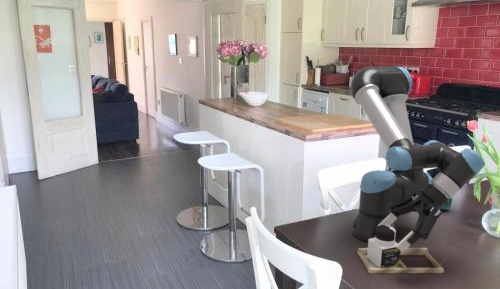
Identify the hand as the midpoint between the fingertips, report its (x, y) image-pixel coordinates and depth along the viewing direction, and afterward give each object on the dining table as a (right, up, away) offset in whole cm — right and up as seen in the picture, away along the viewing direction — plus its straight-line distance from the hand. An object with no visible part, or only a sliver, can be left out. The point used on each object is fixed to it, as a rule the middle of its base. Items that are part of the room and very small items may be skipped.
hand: (388, 238), depth 124 cm
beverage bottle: (+39, +1, +46) cm, 61 cm away
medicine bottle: (-1, -8, +3) cm, 9 cm away
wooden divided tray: (+4, -8, +3) cm, 10 cm away
